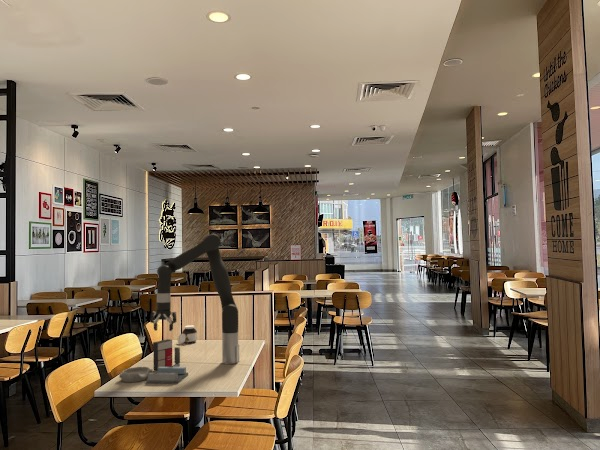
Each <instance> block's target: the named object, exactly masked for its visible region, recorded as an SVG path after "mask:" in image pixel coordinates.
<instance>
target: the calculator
mask: <svg viewBox="0 0 600 450" xmlns="http://www.w3.org/2000/svg"><path fill="white" fill-rule="evenodd" d="M152 351H153V371H156V372H158V368H159V367H171V366H173V339H162V340H158V341H153V342H152Z"/></svg>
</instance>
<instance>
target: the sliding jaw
mask: <svg viewBox="0 0 600 450" xmlns="http://www.w3.org/2000/svg"><path fill="white" fill-rule="evenodd" d="M157 373H178V374H184V373H187V367H186V366H181V347H180V346H176V347H174V364H172V366H171V367H159V368H158V371H157Z"/></svg>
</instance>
